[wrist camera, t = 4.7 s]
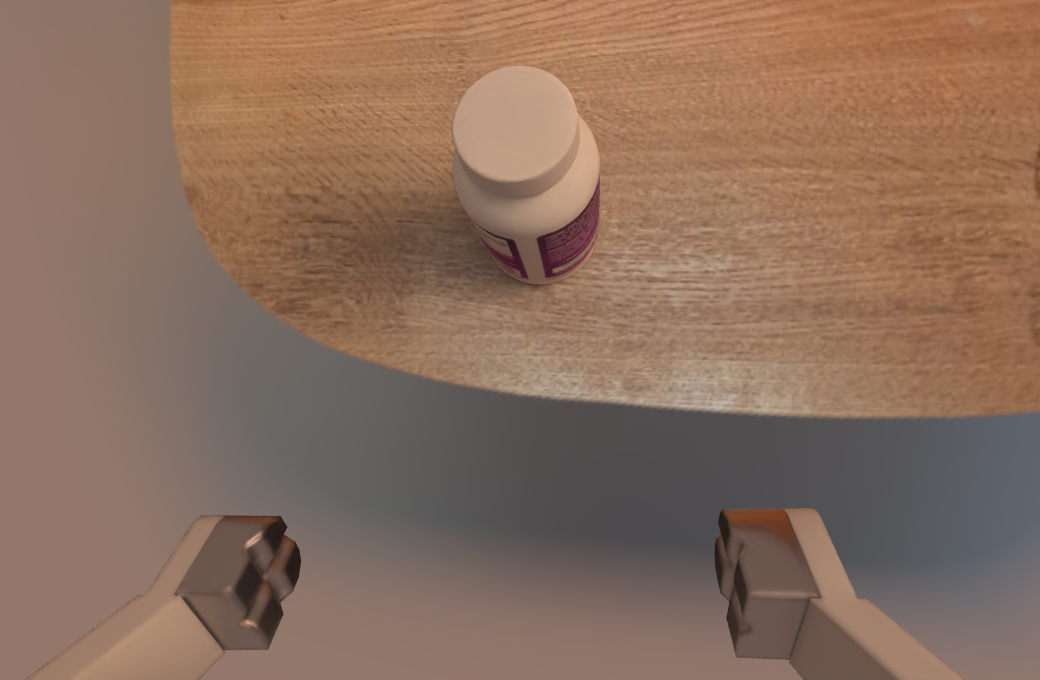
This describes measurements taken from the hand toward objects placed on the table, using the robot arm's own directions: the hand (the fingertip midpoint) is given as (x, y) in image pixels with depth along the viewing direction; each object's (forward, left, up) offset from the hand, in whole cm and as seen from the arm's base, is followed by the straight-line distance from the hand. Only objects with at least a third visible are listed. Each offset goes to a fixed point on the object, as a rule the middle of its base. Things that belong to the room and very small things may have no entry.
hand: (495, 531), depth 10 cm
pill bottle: (+3, +11, -15) cm, 19 cm away
